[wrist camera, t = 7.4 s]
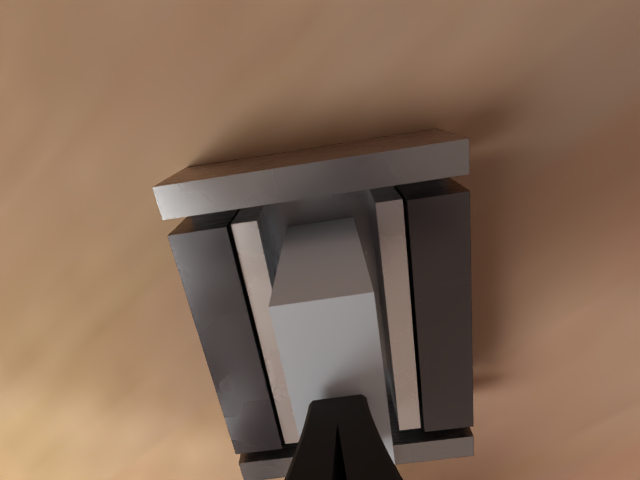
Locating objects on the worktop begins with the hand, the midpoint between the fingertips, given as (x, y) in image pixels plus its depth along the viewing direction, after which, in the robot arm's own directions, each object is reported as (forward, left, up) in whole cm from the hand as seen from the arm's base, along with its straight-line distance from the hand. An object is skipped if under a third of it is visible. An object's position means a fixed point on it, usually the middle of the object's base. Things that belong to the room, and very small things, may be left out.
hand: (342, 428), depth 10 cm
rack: (0, 0, -7) cm, 7 cm away
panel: (0, 0, -6) cm, 6 cm away
